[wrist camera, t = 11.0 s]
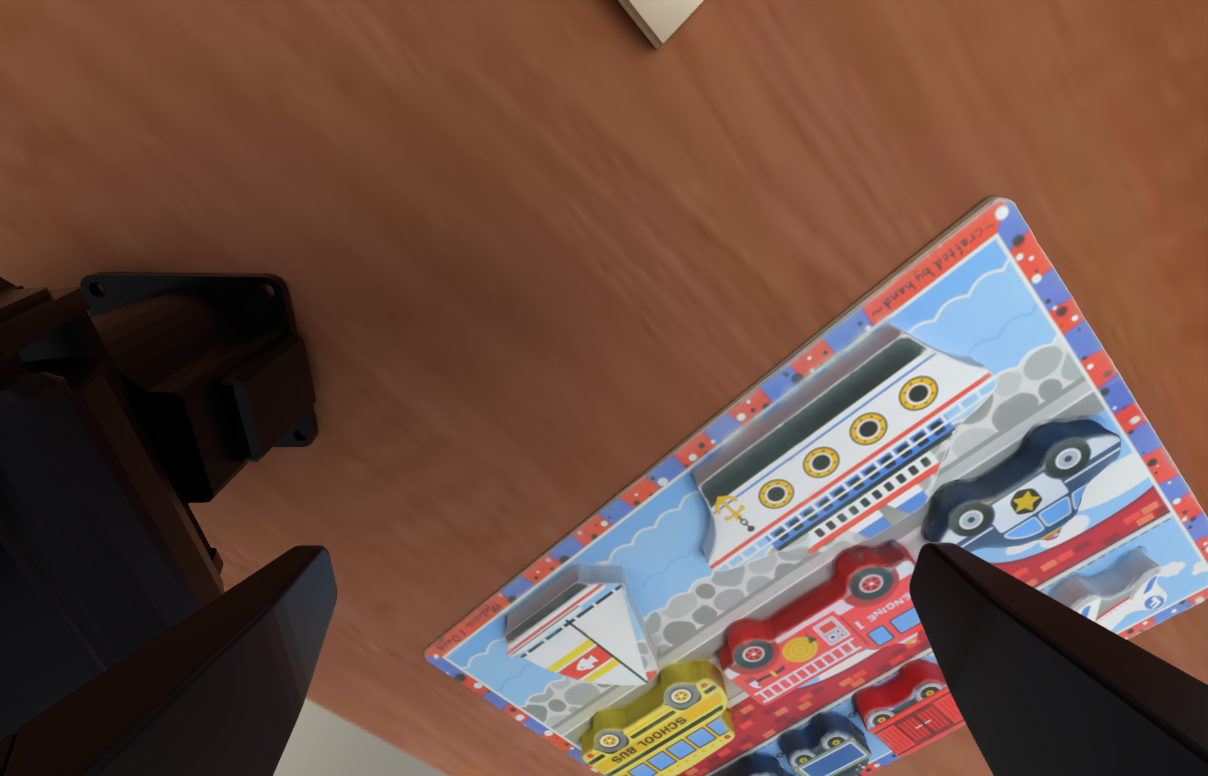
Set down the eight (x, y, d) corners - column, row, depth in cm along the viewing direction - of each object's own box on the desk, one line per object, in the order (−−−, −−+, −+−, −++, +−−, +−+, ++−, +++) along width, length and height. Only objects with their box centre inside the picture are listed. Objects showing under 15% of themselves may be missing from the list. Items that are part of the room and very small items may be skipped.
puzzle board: (984, 185, 20) (1039, 194, 17) (1212, 554, 27) (1273, 595, 25) (420, 640, 28) (405, 689, 26) (714, 828, 36) (724, 880, 33)
